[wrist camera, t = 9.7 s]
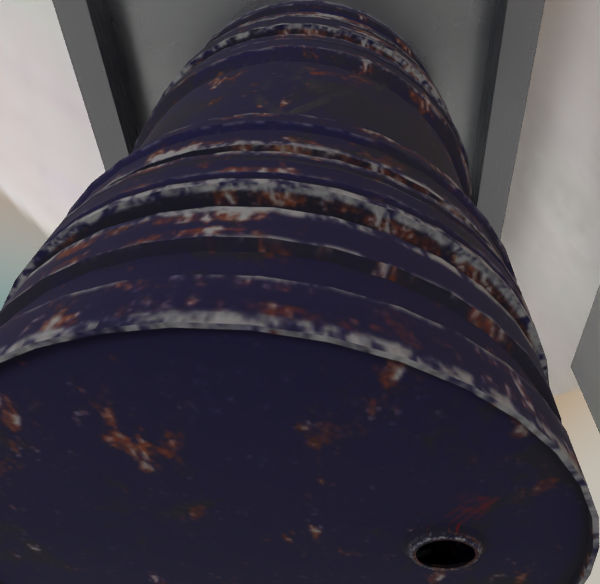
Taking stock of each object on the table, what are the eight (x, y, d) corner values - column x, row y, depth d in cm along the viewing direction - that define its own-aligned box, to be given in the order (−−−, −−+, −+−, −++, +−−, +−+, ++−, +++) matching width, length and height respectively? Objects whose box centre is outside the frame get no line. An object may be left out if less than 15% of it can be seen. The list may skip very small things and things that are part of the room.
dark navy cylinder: (222, 276, 24) (101, 682, 12) (124, 40, 18) (-301, 382, 6) (457, 236, 22) (588, 679, 10) (432, -45, 16) (674, 227, 4)
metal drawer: (52, -209, 16) (-289, -289, 7) (546, -260, 15) (826, -431, 6) (174, 263, 26) (91, 455, 18) (468, 258, 25) (531, 464, 17)
